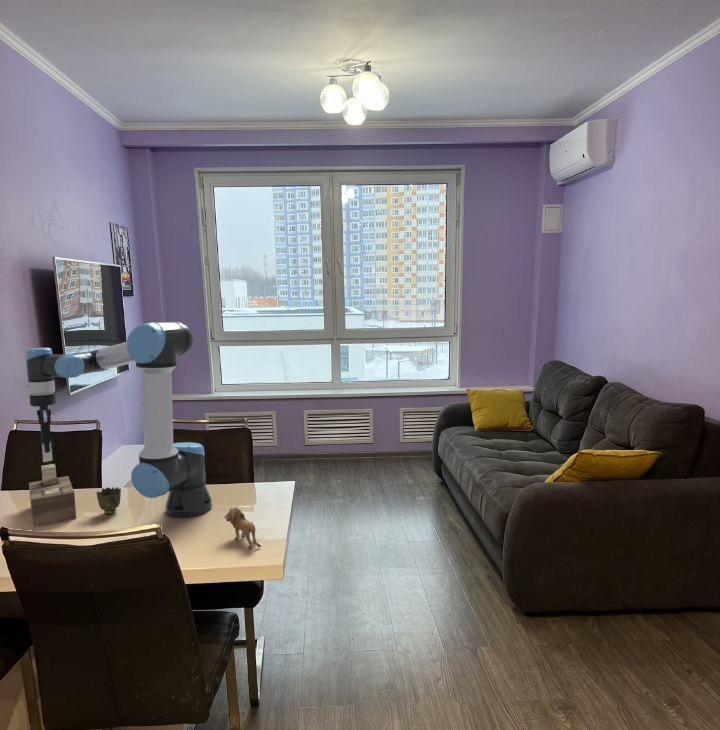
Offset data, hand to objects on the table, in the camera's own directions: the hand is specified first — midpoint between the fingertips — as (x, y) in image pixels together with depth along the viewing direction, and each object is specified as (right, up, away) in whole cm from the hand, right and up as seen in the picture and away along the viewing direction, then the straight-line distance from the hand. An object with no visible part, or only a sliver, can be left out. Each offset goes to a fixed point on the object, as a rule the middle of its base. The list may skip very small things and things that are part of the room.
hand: (47, 460), depth 178 cm
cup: (+23, -17, -3) cm, 29 cm away
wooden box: (+3, -17, -2) cm, 18 cm away
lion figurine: (+73, -20, -24) cm, 79 cm away
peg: (0, -10, +1) cm, 10 cm away
